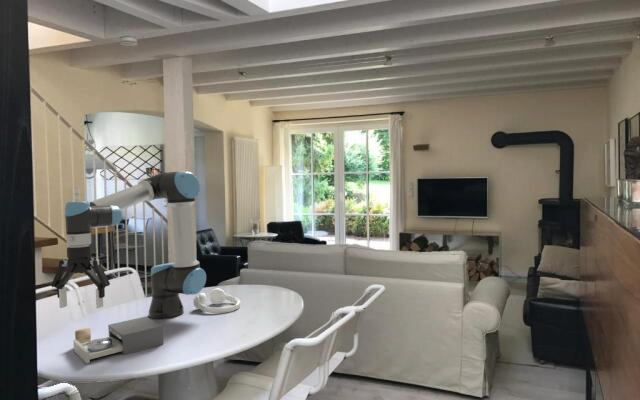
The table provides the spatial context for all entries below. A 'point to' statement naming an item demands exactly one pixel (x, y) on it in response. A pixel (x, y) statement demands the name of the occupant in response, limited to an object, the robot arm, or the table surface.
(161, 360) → the table surface
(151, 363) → the table surface
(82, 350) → the tray
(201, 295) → the headphones
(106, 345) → the disc
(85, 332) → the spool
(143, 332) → the housing
